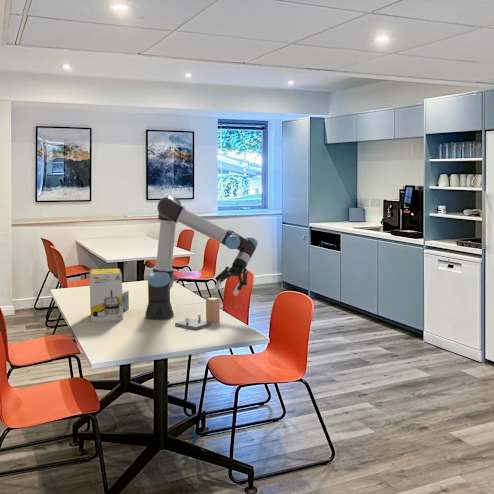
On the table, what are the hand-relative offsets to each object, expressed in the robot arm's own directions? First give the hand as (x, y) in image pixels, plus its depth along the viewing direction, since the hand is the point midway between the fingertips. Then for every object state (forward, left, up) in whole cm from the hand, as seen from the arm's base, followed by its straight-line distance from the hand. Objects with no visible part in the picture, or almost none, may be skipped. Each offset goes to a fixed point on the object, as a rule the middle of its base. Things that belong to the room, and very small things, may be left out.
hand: (224, 293), depth 322 cm
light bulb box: (-59, -21, -14) cm, 64 cm away
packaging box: (-53, -36, -14) cm, 65 cm away
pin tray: (-3, -22, -14) cm, 26 cm away
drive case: (-1, -9, -14) cm, 16 cm away
